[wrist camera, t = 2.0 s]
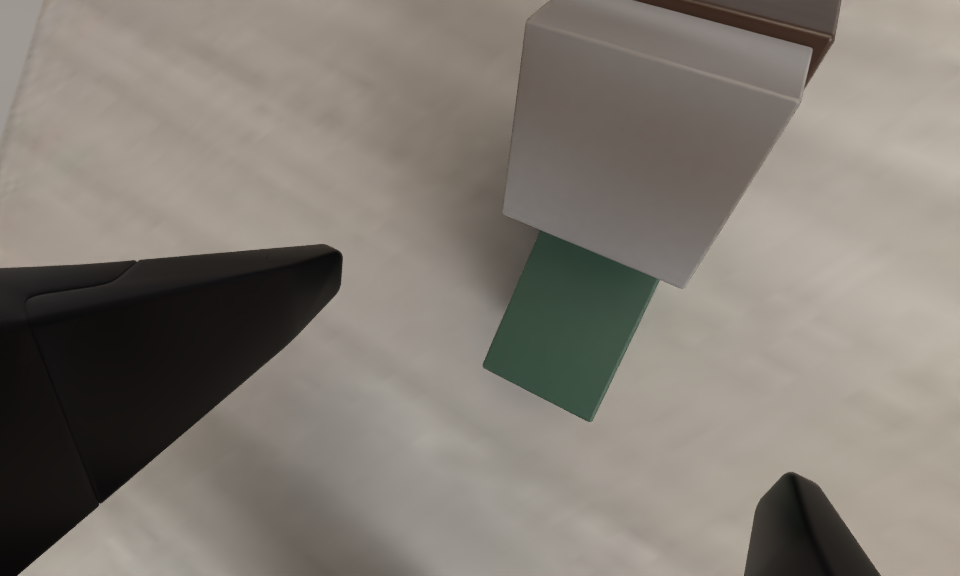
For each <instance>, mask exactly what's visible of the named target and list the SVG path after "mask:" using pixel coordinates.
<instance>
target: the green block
mask: <svg viewBox="0 0 960 576" xmlns="http://www.w3.org/2000/svg"><path fill="white" fill-rule="evenodd" d="M659 281H660V280H659V279H657V278H654V277H652V276H650V275H647V274H645V273H642V272H640V271H638V270H635V269H633V268H630V267H628V266H626V265H623V264H621V263H618V262H616V261H614V260H611V259H609V258H606V257H604V256H602V255H599V254H597V253H594V252H592V251H590V250H587V249H585V248H582V247H580V246H577V245H575V244H573V243H570V242H568V241H565V240H563V239H561V238H558V237H556V236H553V235H551V234H549V233H546V232H544V231H541V230H540V232H539V234H538V236H537V239H536V241H535V243H534V246H533V248H532V250H531V253H530V255H529V257H528V260H527V262H526V264H525V267H524V269H523V271H522V274H521V276H520V278H519V281H518V283H517V285H516V288H515V290H514V292H513V295H512V297H511V299H510V302H509V304H508V306H507V309H506V311H505V313H504V316H503V318H502V320H501V323H500V325H499V327H498V330H497V332H496V334H495V337H494V339H493V341H492V344H491V346H490V348H489V351H488V353H487V355H486V358H485V360H484V362H483V367H484V368H485V369H487V370H489V371H491V372H492V373H494V374H496V375H498V376H500V377H502V378H504V379H506V380H508V381H510V382H512V383H514V384H516V385H518V386H520V387H522V388H524V389H526V390H527V391H529V392H531V393H533V394H535V395H537V396H539V397H541V398H543V399H545V400H547V401H549V402H551V403H553V404H555V405H557V406H559V407H560V408H562V409H564V410H566V411H568V412H570V413H572V414H574V415H576V416H578V417H580V418H582V419H584V420H586V421H588V422H591V421H593V419H594V416H595V414H596V412H597V410H598V408H599V406H600V404H601V402H602V400H603V398H604V396H605V393H606V391H607V389H608V387H609V385H610V383H611V381H612V379H613V377H614V375H615V373H616V370H617V368H618V366H619V364H620V362H621V360H622V358H623V356H624V354H625V352H626V350H627V348H628V345H629V343H630V341H631V339H632V337H633V335H634V333H635V331H636V329H637V327H638V325H639V322H640V320H641V318H642V316H643V314H644V312H645V310H646V308H647V306H648V304H649V302H650V299H651V297H652V295H653V293H654V291H655V289H656V287H657V285H658V283H659Z"/></svg>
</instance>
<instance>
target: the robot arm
mask: <svg viewBox="0 0 960 576" xmlns="http://www.w3.org/2000/svg"><path fill="white" fill-rule="evenodd" d="M342 262H343V256H342V254H341V252H340V251H339V250H336V249H334V248H332V247H330V246H328V245H325V244H318V245H306V246H295V247H283V248H272V249H260V250H249V251H237V252H226V253H214V254H202V255H191V256H179V257H168V258H156V259H145V260H139V261H138V262H137V261H135V260H132V261H121V262H109V263H95V264H81V265H63V266H42V267H17V268H0V576H17V575H18V574H20V573H21V572H22V571H23V570H24V569H25V568H27V567H28V566H29V565H30V564H31V563H32V562H34V561H35V560H36V559H37V558H38V557H40V556H41V555H42V554H43V553H44V552H45V551H47V550H48V549H49V548H50V547H51V546H52V545H54V544H55V543H56V542H57V541H58V540H59V539H61V538H62V537H63V536H64V535H65V534H67V533H68V532H69V531H70V530H71V529H72V528H74V527H75V526H76V525H77V524H78V523H79V522H81V521H82V520H83V519H84V518H85V517H87V516H88V515H89V514H90V513H91V512H92V511H94V510H95V509H96V508H97V507H98V506H99V503H103V502H104V501H105V500H106V499H107V498H108V497H110V496H111V495H112V494H113V493H114V492H115V491H117V490H118V489H119V488H120V487H121V486H122V485H124V484H125V483H126V482H127V481H128V480H130V479H131V478H132V477H133V476H134V475H135V474H137V473H138V472H139V471H140V470H141V469H142V468H144V467H145V466H146V465H147V464H148V463H149V462H151V461H152V460H153V459H154V458H155V457H157V456H158V455H159V454H160V453H161V452H162V451H164V450H165V449H166V448H167V447H168V446H169V445H171V444H172V443H173V442H174V441H175V440H176V439H178V438H179V437H180V436H181V435H182V434H184V433H185V432H186V431H187V430H188V429H189V428H191V427H192V426H193V425H194V424H195V423H196V422H198V421H199V420H200V419H201V418H202V417H203V416H205V415H206V414H207V413H208V412H209V411H211V410H212V409H213V408H214V407H215V406H216V405H218V404H219V403H220V402H221V401H222V400H223V399H225V398H226V397H227V396H228V395H229V394H230V393H232V392H233V391H234V390H235V389H236V388H238V387H239V386H240V385H241V384H242V383H243V382H245V381H246V380H247V379H248V378H249V377H250V376H252V375H253V374H254V373H255V372H256V371H257V370H259V369H260V368H261V367H262V366H263V365H265V364H266V363H267V362H268V361H269V360H270V359H272V358H273V357H274V356H275V355H276V354H277V353H279V352H280V351H281V350H282V349H283V348H284V347H285V346H287V345H288V344H289V343H290V342H291V341H292V340H293V339H294V338H295V337H296V336H297V335H298V334H299V333H300V332H301V331H302V330H303V329H304V328H305V327H306V326H307V325H308V324H309V322H310V321H311V320H312V319H313V318H314V317H315V316H316V315H317V314H318V313H319V312H320V311H321V310H322V309H323V308H324V307H325V306H326V305H327V304H328V302H329V301H330V300H331V299H332V298H333V297H334V296H335V295H336V294H337V292H338V291H339V289H340V286H341V276H342ZM744 576H881V575H880V574H879V572H878V571H877V570H876V568H875V567H874V565H873V564H872V562H871V561H870V559H869V558H868V556H867V555H866V554H865V552H864V551H863V549H862V548H861V546H860V545H859V543H858V542H857V540H856V539H855V538H854V536H853V535H852V533H851V532H850V530H849V529H848V527H847V526H846V525H845V523H844V522H843V520H842V519H841V517H840V516H839V514H838V513H837V511H836V510H835V509H834V507H833V506H832V504H831V503H830V501H829V500H828V498H827V497H826V495H825V494H824V493H823V491H822V490H821V488H820V487H819V486H818V485H817V484H816V483H814V482H813V481H810V480H808V479H806V478H804V477H802V476H800V475H798V474H796V473H794V472H788V473H786V474H784V475H783V476H782V477H781V478H780V479H779V480H778V481H777V482H776V483H775V484H774V485H773V486H772V487H771V489H770V490H769V491H768V492H767V493H766V494H765V495H764V496H763V497H762V498H761V499H760V501H759V503H758V505H757V507H756V510H755V515H754V521H753V527H752V532H751V538H750V544H749V550H748V555H747V561H746V567H745V573H744Z"/></svg>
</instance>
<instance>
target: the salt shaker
mask: <svg viewBox="0 0 960 576" xmlns="http://www.w3.org/2000/svg"><path fill="white" fill-rule="evenodd" d="M840 5H841V0H550V1H549V2H547V3H546V4H545V5H544V6H543V7H541V8H540V9H539V10H538V11H537V12H536V13H534V14H533V15H532V16H531V17H530V18H528V19H527V21H526V25H525V33H524V41H523V49H522V57H521V65H520V73H519V81H518V89H517V97H516V105H515V113H514V121H513V129H512V137H511V145H510V153H509V161H508V169H507V177H506V185H505V193H504V201H503V209H502V214H503V215H505V216H508V217H510V218H513V219H515V220H517V221H520V222H522V223H525V224H527V225H529V226H532V227H534V228H537V229H539V230H541V231H544V232H546V233H549V234H551V235H553V236H556V237H558V238H561V239H563V240H565V241H568V242H570V243H573V244H575V245H577V246H580V247H582V248H585V249H587V250H590V251H592V252H594V253H597V254H599V255H602V256H604V257H606V258H609V259H611V260H614V261H616V262H618V263H621V264H623V265H626V266H628V267H630V268H633V269H635V270H638V271H640V272H642V273H645V274H647V275H650V276H652V277H654V278H657V279H659V280H662V281H664V282H666V283H669V284H671V285H674V286H676V287H678V288H681V289H683V288H684V287H685V286H686V285H687V283H688V282H689V280H690V278H691V277H692V275H693V274H694V272H695V270H696V269H697V267H698V266H699V264H700V263H701V261H702V259H703V258H704V256H705V255H706V253H707V251H708V250H709V248H710V247H711V245H712V243H713V242H714V240H715V239H716V237H717V235H718V234H719V232H720V231H721V229H722V228H723V226H724V224H725V223H726V221H727V220H728V218H729V216H730V215H731V213H732V212H733V210H734V208H735V207H736V205H737V204H738V202H739V200H740V199H741V197H742V196H743V194H744V193H745V191H746V189H747V188H748V186H749V185H750V183H751V181H752V180H753V178H754V177H755V175H756V173H757V172H758V170H759V169H760V167H761V165H762V164H763V162H764V161H765V159H766V158H767V156H768V154H769V153H770V151H771V150H772V148H773V146H774V145H775V143H776V142H777V140H778V138H779V137H780V135H781V134H782V132H783V130H784V129H785V127H786V126H787V124H788V122H789V121H790V119H791V118H792V116H793V115H794V113H795V111H796V110H797V108H798V107H799V105H800V103H801V99H802V95H803V91H804V89H805V87H806V86H807V84H808V82H809V81H810V79H811V78H812V76H813V74H814V73H815V71H816V70H817V68H818V66H819V65H820V63H821V62H822V60H823V58H824V57H825V55H826V53H827V52H828V50H829V49H830V47H831V45H832V44H833V42H834V40H835V34H836V28H837V22H838V17H839V11H840Z"/></svg>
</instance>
